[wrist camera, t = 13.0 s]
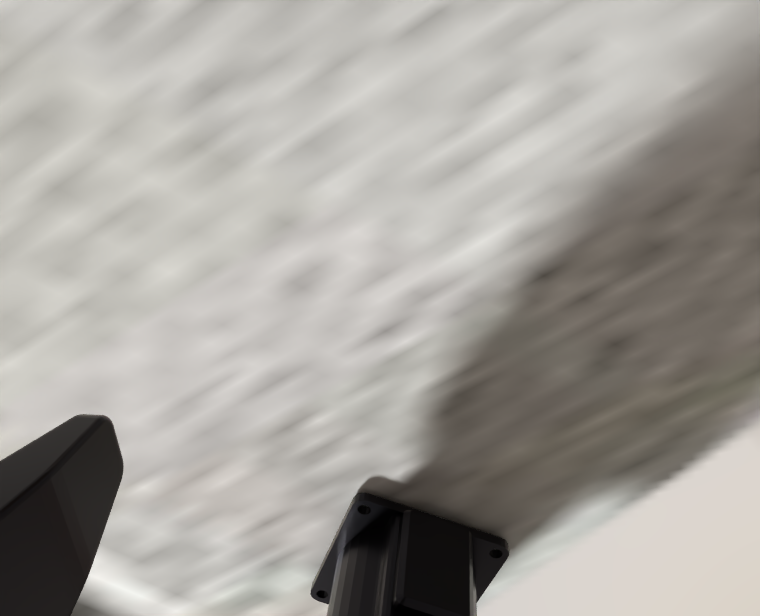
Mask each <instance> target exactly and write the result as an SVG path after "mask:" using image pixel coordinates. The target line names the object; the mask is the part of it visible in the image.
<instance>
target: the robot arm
mask: <svg viewBox="0 0 760 616" xmlns="http://www.w3.org/2000/svg"><path fill="white" fill-rule="evenodd" d="M122 475H123V459H122V455H121V451H120V448H119V444H118V440H117V437H116V433H115V430H114V426H113V423H112V421H111V420H110V418H108V417H107V416H104V415H87V414H82V415H76V416H75V417H73V418H71V419H69V420H68V421H66V422H64V423H63V424H61V425H59V426H58V427H56V428H54V429H53V430H51V431H49V432H48V433H46V434H44V435H43V436H41V437H39V438H38V439H36V440H34V441H33V442H31V443H29V444H28V445H26V446H24V447H23V448H21V449H19V450H18V451H16V452H14V453H13V454H11V455H9V456H8V457H6V458H5V459H3V460H1V461H0V616H70V615H71V613H72V611H73V609H74V607H75V604H76V602H77V600H78V598H79V596H80V594H81V591H82V589H83V587H84V584H85V582H86V580H87V577H88V575H89V572H90V569H91V567H92V564H93V561H94V558H95V555H96V552H97V549H98V547H99V544H100V541H101V538H102V535H103V532H104V529H105V526H106V523H107V520H108V517H109V515H110V512H111V509H112V506H113V503H114V500H115V497H116V494H117V491H118V488H119V485H120V482H121V479H122ZM361 505H366V506H368V507H363V506H361ZM494 549H497V550H494ZM508 556H509V548H508V543H507V542H506V541H505V540H504V539H502V538H500V537H497V536H494V535H491V534H488V533H485V532H482V531H479V530H476V529H473V528H470V527H467V526H464V525H461V524H458V523H455V522H452V521H449V520H446V519H443V518H440V517H438V516H435V515H432V514H429V513H426V512H423V511H420V510H417V509H414V508H411V507H408V506H405V505H402V504H399V503H396V502H393V501H390V500H387V499H384V498H381V497H378V496H375V495H372V494H369V493H359V494H357V495H356V496H355V497H354V498H353V500H352V502H351V504H350V506H349V508H348V510H347V512H346V514H345V517H344V519H343V521H342V523H341V525H340V527H339V529H338V531H337V533H336V535H335V537H334V539H333V542H332V544H331V546H330V548H329V550H328V552H327V554H326V556H325V558H324V560H323V562H322V564H321V567H320V569H319V571H318V573H317V575H316V577H315V579H314V581H313V584H312V588H311V596H312V597H313V598H314V599H315V600H317V601H320V602H323V603H326V604H329V607H328V612H327V616H477V606H476V603H477V602H478V600H479V599H480V597H481V596H482V594H483V593H484V591H485V590H486V588H487V587H488V586H489V584H490V583H491V581H492V580H493V578H494V577H495V575H496V574H497V573H498V571H499V570H500V568H501V567H502V565H503V564H504V562H505V561H506V560H507V558H508Z"/></svg>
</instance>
